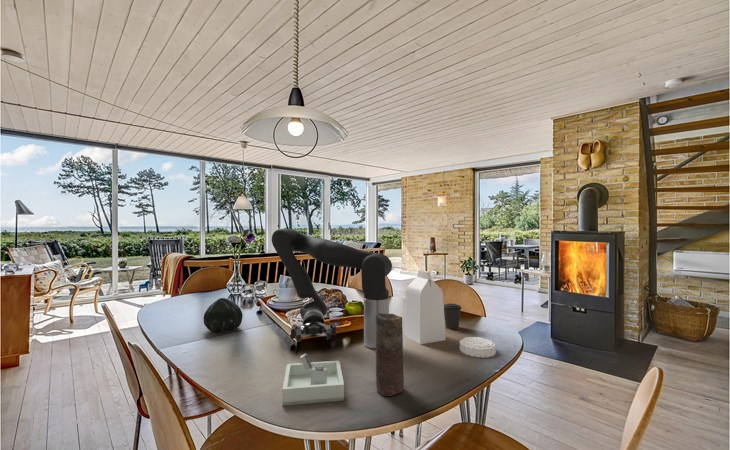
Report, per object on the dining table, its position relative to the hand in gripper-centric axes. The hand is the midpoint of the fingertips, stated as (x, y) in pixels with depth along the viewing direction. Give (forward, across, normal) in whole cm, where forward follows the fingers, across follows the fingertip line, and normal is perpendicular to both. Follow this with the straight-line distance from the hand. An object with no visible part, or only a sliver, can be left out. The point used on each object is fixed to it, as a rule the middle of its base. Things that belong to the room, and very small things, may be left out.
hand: (313, 337), depth 100 cm
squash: (-45, -37, +10) cm, 59 cm away
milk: (-24, +43, +10) cm, 50 cm away
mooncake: (-7, +56, +11) cm, 58 cm away
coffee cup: (-34, +59, +10) cm, 69 cm away
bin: (+11, 0, +10) cm, 15 cm away
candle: (+15, +20, +10) cm, 27 cm away
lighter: (+11, 0, +10) cm, 14 cm away
